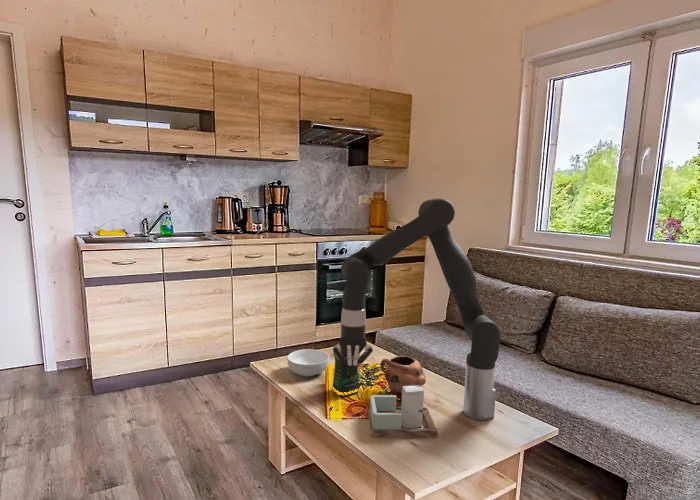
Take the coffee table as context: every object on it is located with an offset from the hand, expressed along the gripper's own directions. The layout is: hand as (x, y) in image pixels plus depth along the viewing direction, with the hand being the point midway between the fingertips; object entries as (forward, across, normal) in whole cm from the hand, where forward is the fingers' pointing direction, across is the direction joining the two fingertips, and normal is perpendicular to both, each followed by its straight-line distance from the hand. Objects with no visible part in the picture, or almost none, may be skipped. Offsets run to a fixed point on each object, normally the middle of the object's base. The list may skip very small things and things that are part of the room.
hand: (352, 375), depth 134 cm
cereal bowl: (+17, +16, -40) cm, 46 cm away
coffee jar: (+16, +1, -23) cm, 28 cm away
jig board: (+16, -16, 0) cm, 23 cm away
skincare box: (+16, -19, 0) cm, 25 cm away
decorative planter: (+16, -19, -20) cm, 32 cm away
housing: (+14, -11, 0) cm, 18 cm away
